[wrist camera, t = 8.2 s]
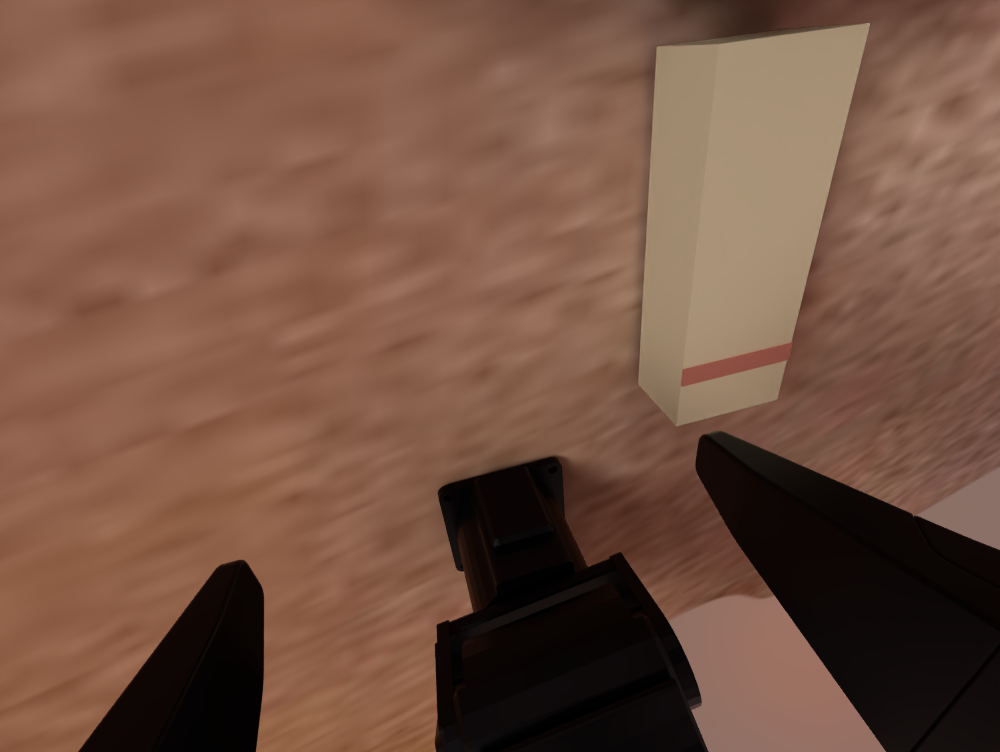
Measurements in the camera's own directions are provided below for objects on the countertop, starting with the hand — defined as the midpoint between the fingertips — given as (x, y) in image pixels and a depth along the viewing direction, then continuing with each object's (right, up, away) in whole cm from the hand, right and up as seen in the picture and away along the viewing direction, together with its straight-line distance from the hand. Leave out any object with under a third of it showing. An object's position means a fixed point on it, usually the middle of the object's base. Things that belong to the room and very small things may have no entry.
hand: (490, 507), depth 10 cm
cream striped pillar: (+9, +9, +12) cm, 17 cm away
